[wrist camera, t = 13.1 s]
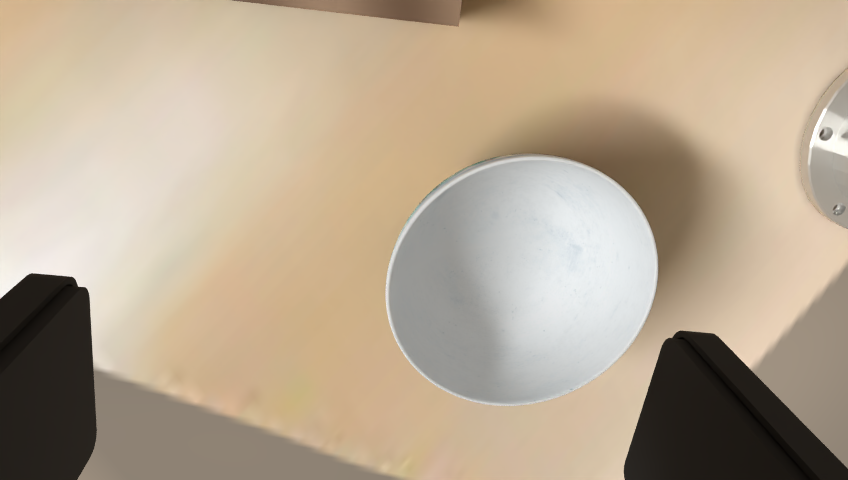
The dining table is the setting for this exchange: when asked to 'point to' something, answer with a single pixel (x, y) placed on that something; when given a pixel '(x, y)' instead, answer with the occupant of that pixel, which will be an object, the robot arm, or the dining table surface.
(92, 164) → the dining table surface
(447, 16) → the well block
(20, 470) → the robot arm
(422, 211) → the chinaware
